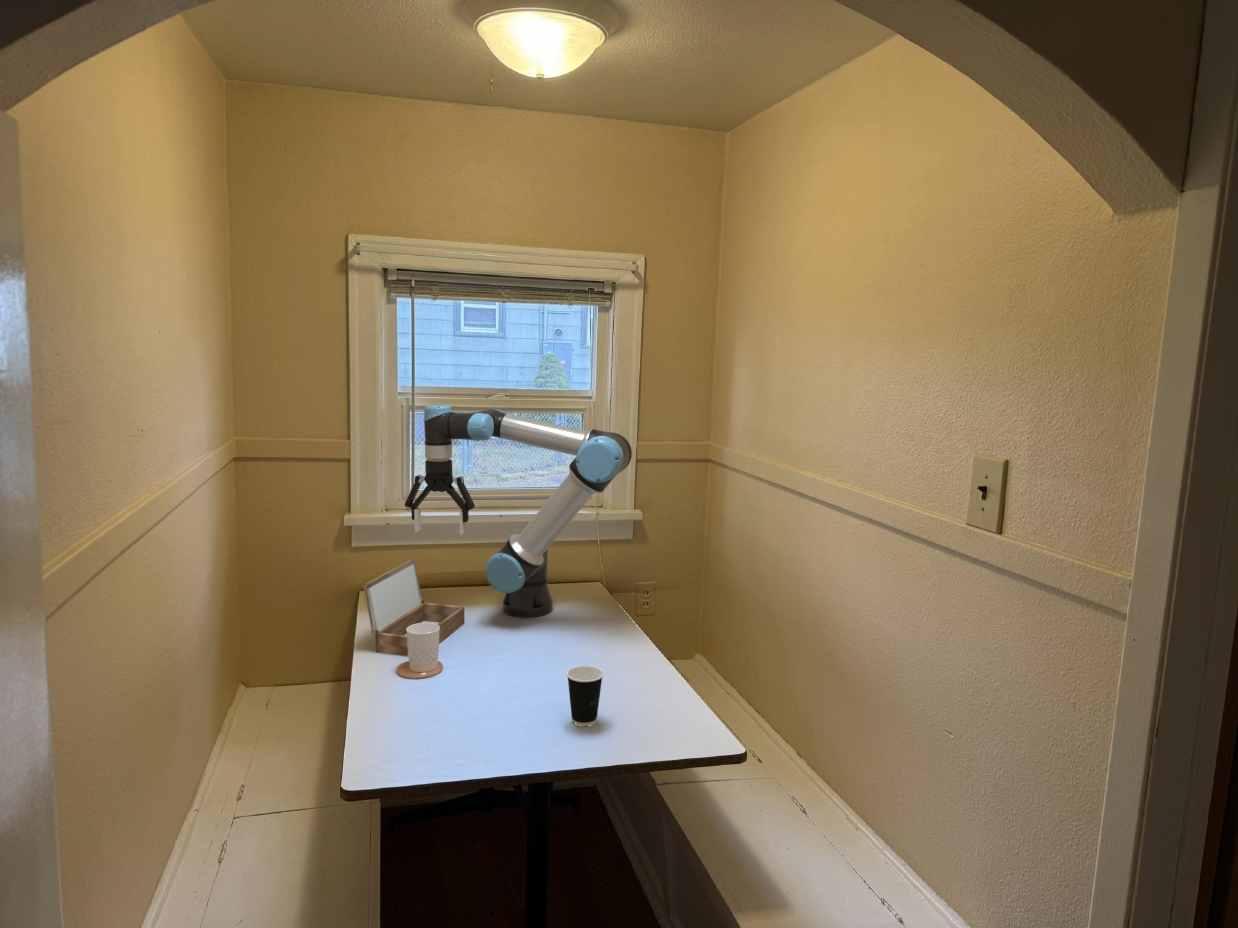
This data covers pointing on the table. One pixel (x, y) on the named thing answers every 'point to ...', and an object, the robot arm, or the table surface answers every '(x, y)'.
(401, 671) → the saucer
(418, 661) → the white cup
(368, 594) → the lid
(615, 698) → the table surface
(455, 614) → the cold frame
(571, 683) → the dixie cup
